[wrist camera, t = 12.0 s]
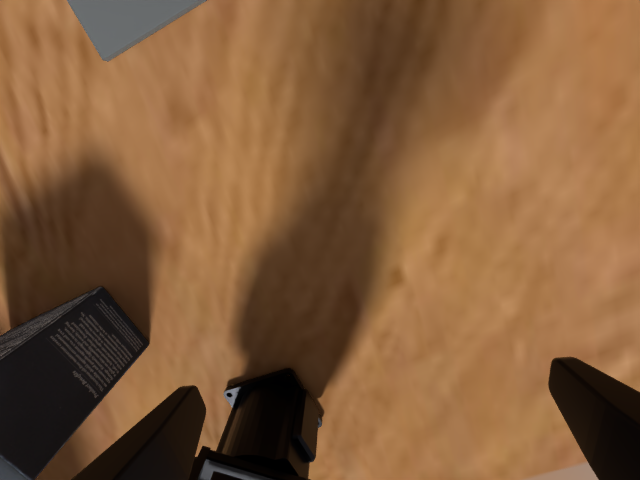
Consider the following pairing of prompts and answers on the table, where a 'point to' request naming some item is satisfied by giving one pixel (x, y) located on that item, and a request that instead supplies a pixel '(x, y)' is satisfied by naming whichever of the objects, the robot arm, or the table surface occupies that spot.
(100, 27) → the mat
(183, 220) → the table surface
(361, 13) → the table surface
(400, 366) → the table surface
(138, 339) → the small box
